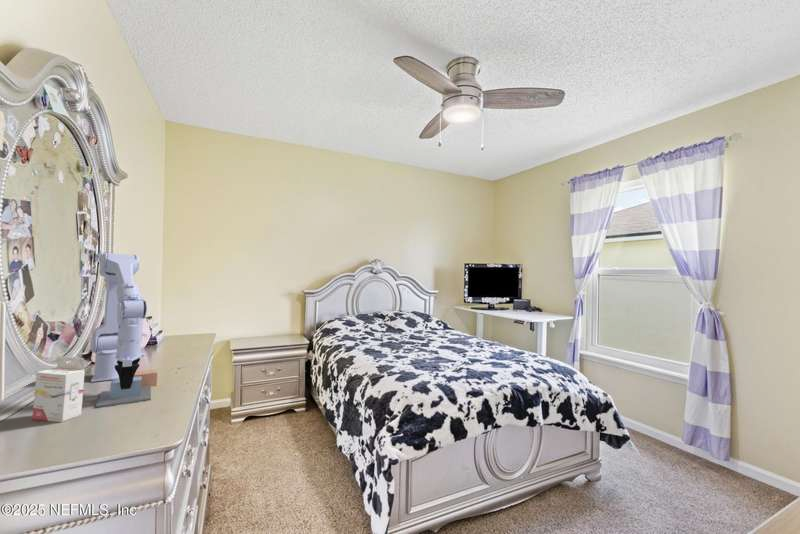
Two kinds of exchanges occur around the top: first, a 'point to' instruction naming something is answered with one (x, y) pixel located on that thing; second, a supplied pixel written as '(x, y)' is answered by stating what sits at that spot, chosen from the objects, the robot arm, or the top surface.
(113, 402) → the baseplate
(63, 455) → the top surface
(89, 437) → the top surface
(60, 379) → the ink cartridge box
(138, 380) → the lower brick
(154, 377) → the upper brick
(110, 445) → the top surface
